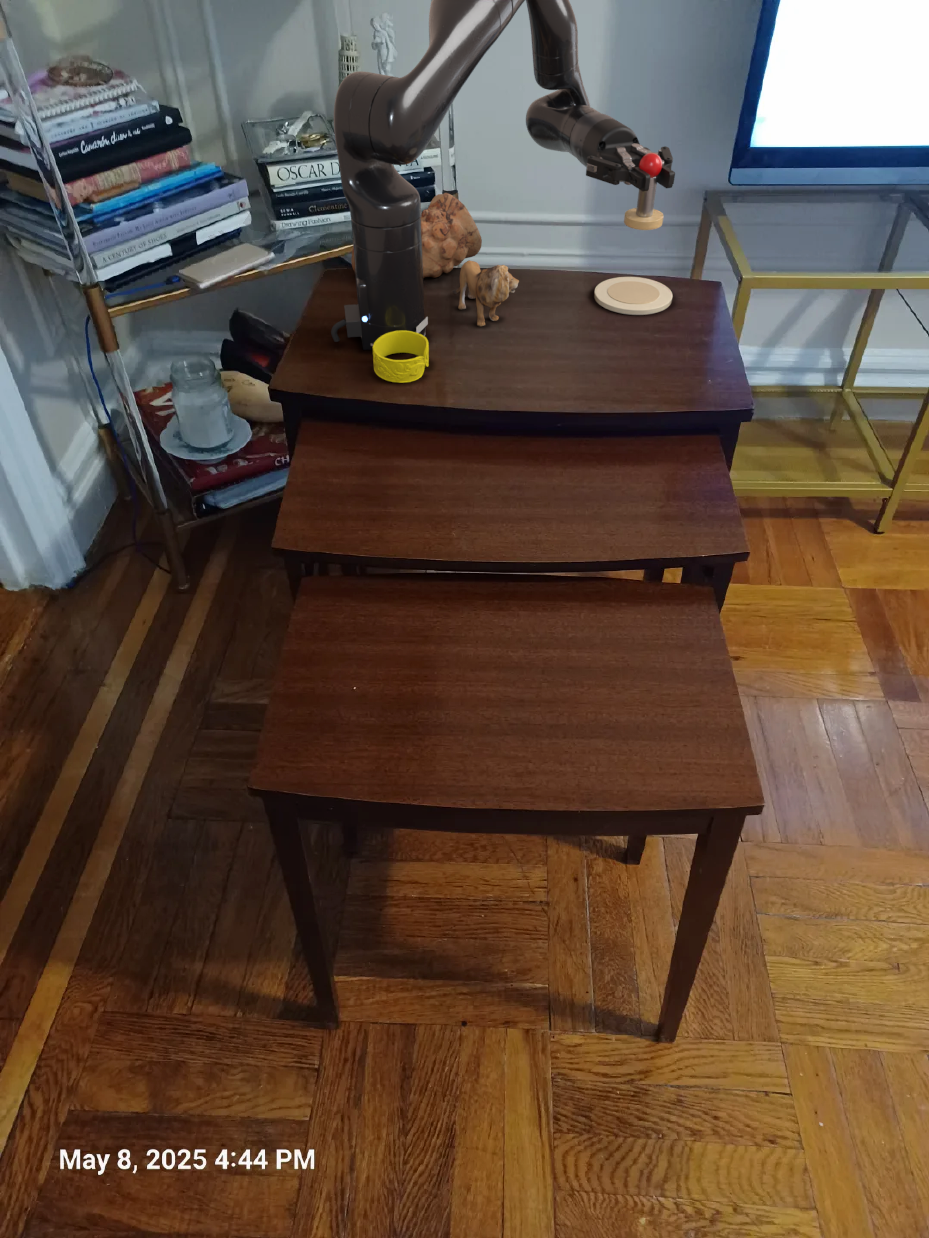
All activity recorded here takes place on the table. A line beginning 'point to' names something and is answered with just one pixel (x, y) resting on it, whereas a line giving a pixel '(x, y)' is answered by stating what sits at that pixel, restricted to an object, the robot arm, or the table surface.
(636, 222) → the red ball post
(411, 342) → the bracelet
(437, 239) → the brown bumpy lump
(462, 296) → the lion figurine
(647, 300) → the plate
